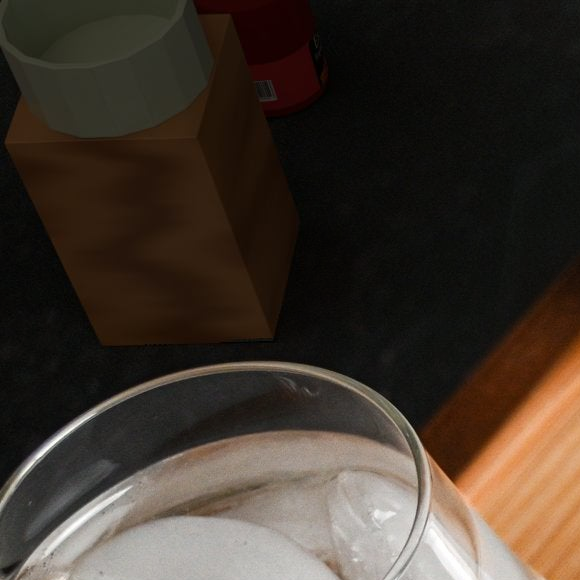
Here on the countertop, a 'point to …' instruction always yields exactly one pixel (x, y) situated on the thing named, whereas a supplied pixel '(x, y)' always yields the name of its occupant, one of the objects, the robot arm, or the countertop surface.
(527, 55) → the countertop surface
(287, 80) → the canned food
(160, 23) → the bowl
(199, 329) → the riser
